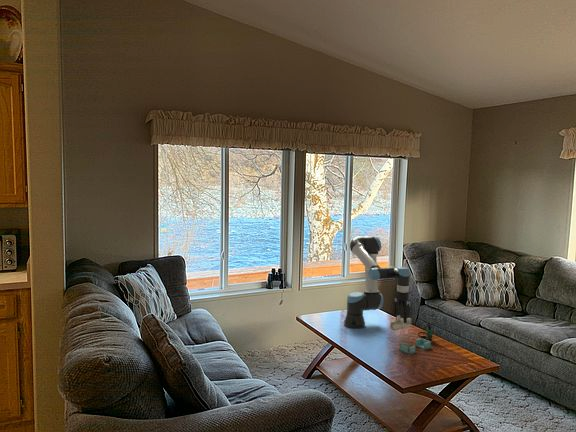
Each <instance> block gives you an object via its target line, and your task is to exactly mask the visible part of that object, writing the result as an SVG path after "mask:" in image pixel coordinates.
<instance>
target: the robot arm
mask: <svg viewBox="0 0 576 432" xmlns="http://www.w3.org/2000/svg"><path fill="white" fill-rule="evenodd" d="M349 249H350V251H351V253H352V254H353V256H356V257H357V258H358V260H359V261H360V262H361V263H362V265H363V266H364V271H365V274H364V276H365V279H364V280H365V290H364V291H363V292H360V291H353V292H351V293H349V294H348V295H347V297H346V298H347V299H346V316H345V318H344V321H343V325H344V326H345V327H347V328H351V329H362V328H364V327H366V322H365V317H364V311H375V310H380V309H381V308H382V307H383V306H384V305H383V304H384V296H383V294H382V293H381V291H380V290H379V289H378V281H379V280H381V281H382V280H396V297H395V298H392V300H393V310H392V311H393V314H394V315H395V320H397V319H401V318H402V328H403V329H405V327H406V323H407V318H410V317H411V309H412V303H411V302H410V301H409V296H410V295H409V293H410V275H411V269H410V268H409V267H405V266H398V267H397V266H393V265H391V266H388V267H380V265H379V264H378V263H377V262H378V261H377V256H378V255H379V252H380V251H381V250H382V243H381V240H380V238H379V237H378V236H377V235H359V236H355V237H354V238H352V239H351V241H350V242H349ZM401 310H402V314H403V315H402V316H403V317H401V314H400V313H401ZM406 328H407V327H406Z"/></svg>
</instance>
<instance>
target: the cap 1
mask: <svg viewBox="0 0 576 432" xmlns="http://www.w3.org/2000/svg"><path fill="white" fill-rule="evenodd" d="M399 352H402V353H405V354H407V355H412V354H415V353H416V345H412V346H408V342H402V343H399Z"/></svg>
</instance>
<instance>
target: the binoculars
mask: <svg viewBox="0 0 576 432" xmlns="http://www.w3.org/2000/svg"><path fill="white" fill-rule="evenodd" d="M433 333H434V330H433V329H432V326H431V323H427V326H426V331H420V332H418V333H417V337H420V338H422V339H425V340H428V341H430V342H431V343H433V341H434V340H433ZM420 334H424V335H420Z"/></svg>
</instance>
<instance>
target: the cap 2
mask: <svg viewBox="0 0 576 432" xmlns="http://www.w3.org/2000/svg"><path fill="white" fill-rule="evenodd" d="M415 347H418V348H420V349H422V350H429V349H431V348H432V342H430V341H428V339H427V340H425V339H422V338H421V337H420V338H417V339H415Z"/></svg>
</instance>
